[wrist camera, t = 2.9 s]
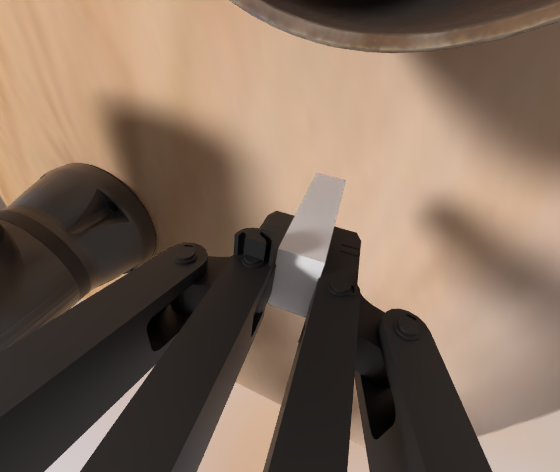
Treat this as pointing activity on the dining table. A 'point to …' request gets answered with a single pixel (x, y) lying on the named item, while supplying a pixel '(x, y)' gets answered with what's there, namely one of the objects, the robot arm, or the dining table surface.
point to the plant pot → (403, 21)
